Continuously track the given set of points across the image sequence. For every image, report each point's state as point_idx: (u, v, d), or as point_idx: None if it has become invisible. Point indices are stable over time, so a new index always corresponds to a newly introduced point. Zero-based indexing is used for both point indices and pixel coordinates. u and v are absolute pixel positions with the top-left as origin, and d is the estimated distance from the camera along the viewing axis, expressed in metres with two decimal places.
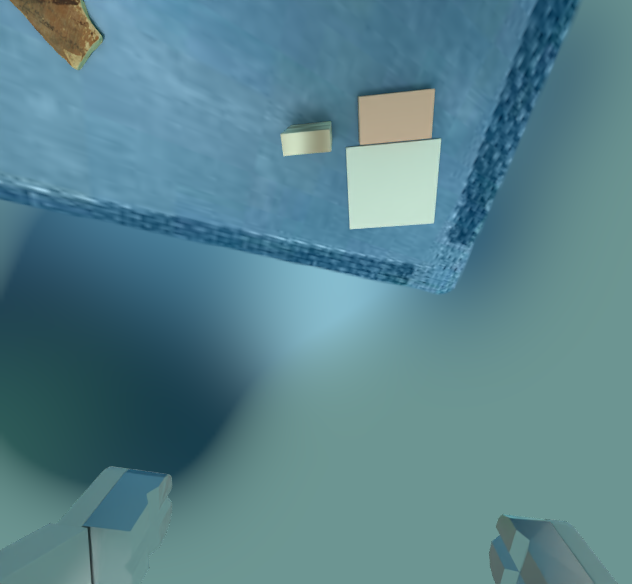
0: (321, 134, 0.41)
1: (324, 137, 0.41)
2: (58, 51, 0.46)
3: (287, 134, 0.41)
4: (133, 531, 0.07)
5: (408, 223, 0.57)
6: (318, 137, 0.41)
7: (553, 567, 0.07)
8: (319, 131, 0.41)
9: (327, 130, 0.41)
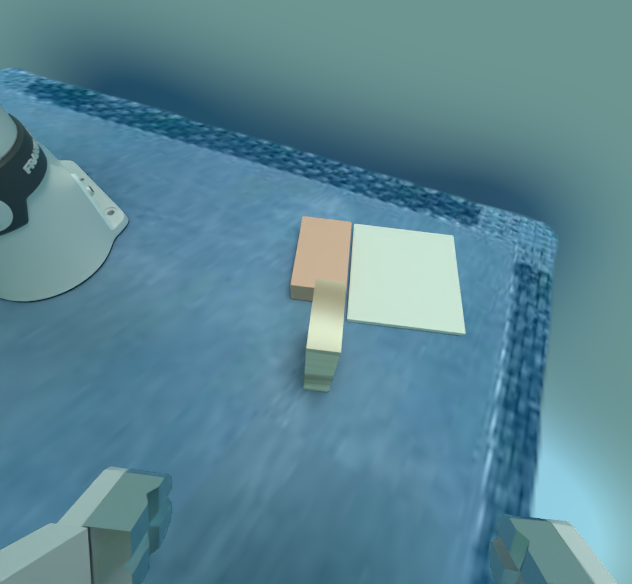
0: (320, 290, 0.27)
1: (325, 287, 0.27)
2: None
3: (309, 337, 0.25)
4: (133, 531, 0.07)
5: (454, 260, 0.42)
6: (323, 294, 0.27)
7: (553, 567, 0.07)
8: (315, 292, 0.27)
9: (316, 281, 0.27)
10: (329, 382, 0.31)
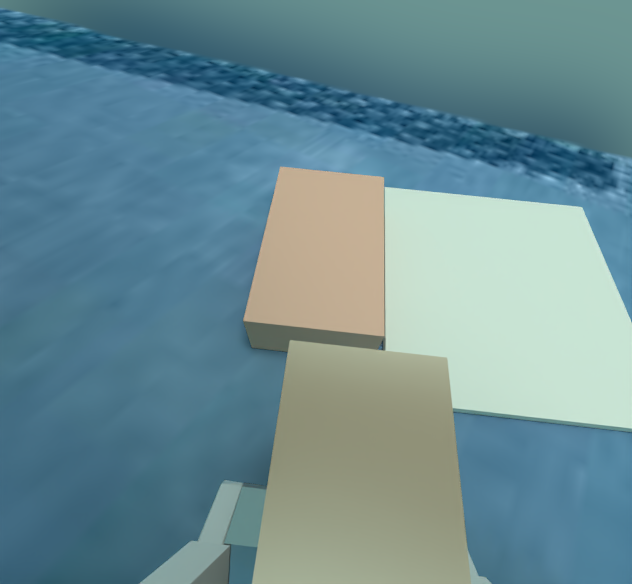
0: (312, 409, 0.05)
1: (339, 389, 0.05)
2: None
3: None
4: None
5: (599, 256, 0.20)
6: (331, 441, 0.05)
7: None
8: (286, 422, 0.05)
9: (294, 357, 0.05)
10: None
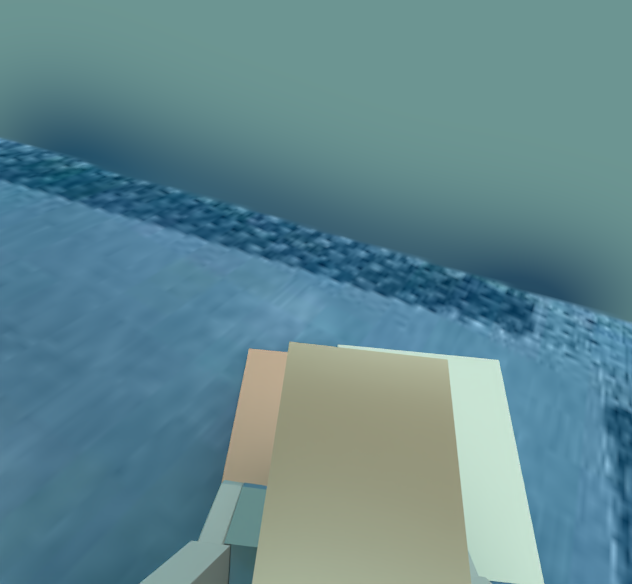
0: (312, 412, 0.05)
1: (339, 391, 0.05)
2: None
3: None
4: None
5: (506, 413, 0.25)
6: (331, 444, 0.05)
7: None
8: (286, 425, 0.05)
9: (294, 359, 0.05)
10: None
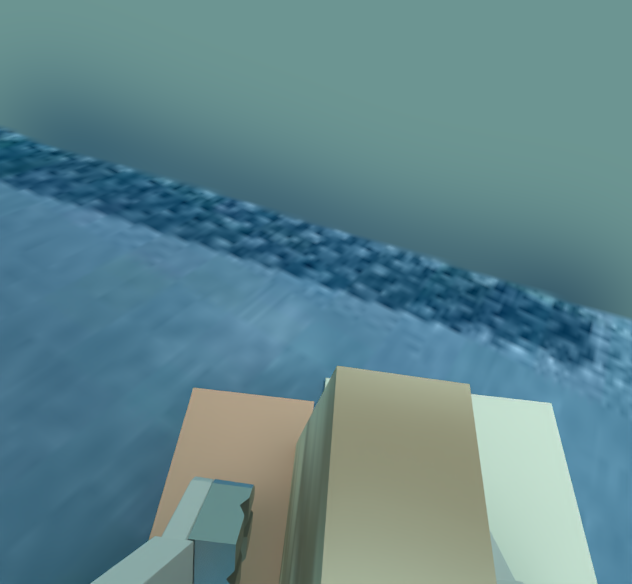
0: (360, 428, 0.06)
1: (382, 410, 0.06)
2: None
3: None
4: None
5: (567, 486, 0.17)
6: (378, 457, 0.05)
7: None
8: (339, 440, 0.06)
9: (341, 381, 0.06)
10: None
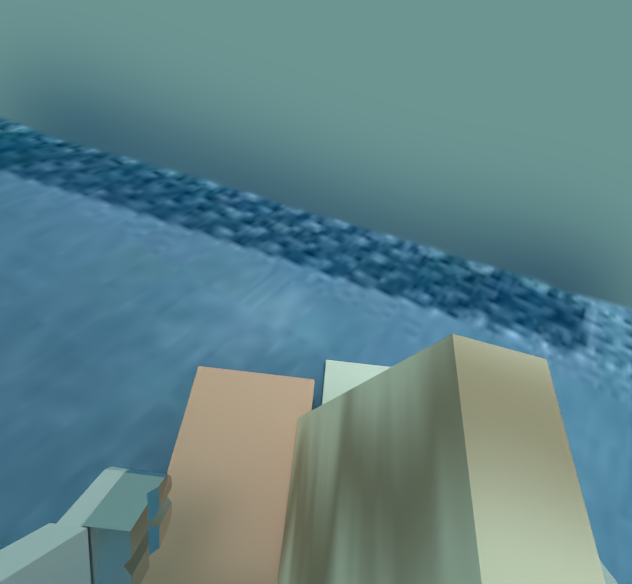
0: (478, 387, 0.07)
1: (491, 374, 0.07)
2: None
3: None
4: (133, 531, 0.07)
5: None
6: (494, 411, 0.06)
7: None
8: (464, 395, 0.06)
9: (457, 347, 0.07)
10: None
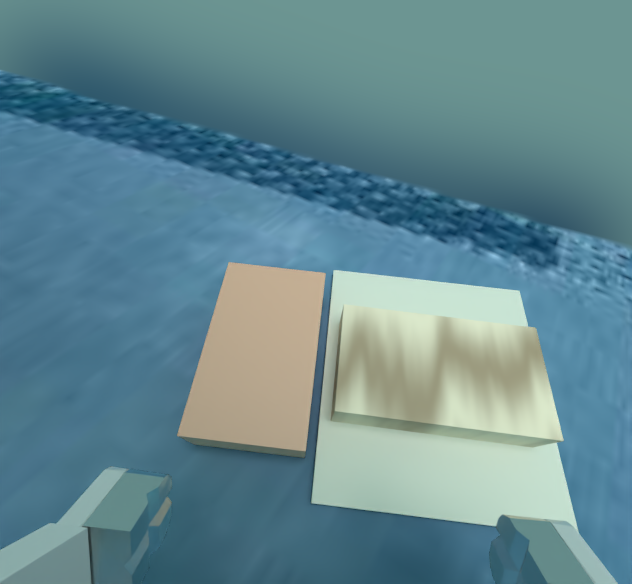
0: None
1: None
2: None
3: (557, 422, 0.17)
4: (133, 531, 0.07)
5: None
6: None
7: (553, 567, 0.07)
8: (539, 348, 0.19)
9: (535, 332, 0.19)
10: (392, 428, 0.18)
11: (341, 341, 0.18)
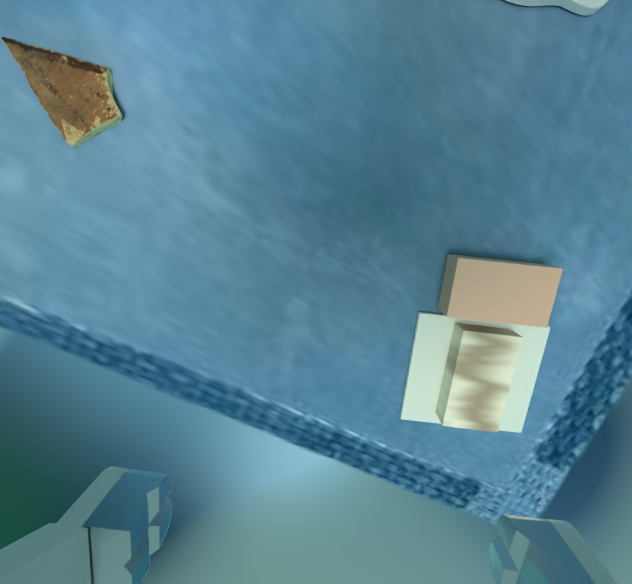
0: None
1: None
2: (53, 119, 0.33)
3: (449, 425, 0.37)
4: (133, 531, 0.07)
5: None
6: None
7: (553, 567, 0.07)
8: (485, 430, 0.37)
9: (494, 431, 0.37)
10: (449, 351, 0.37)
11: (500, 334, 0.34)
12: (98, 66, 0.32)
